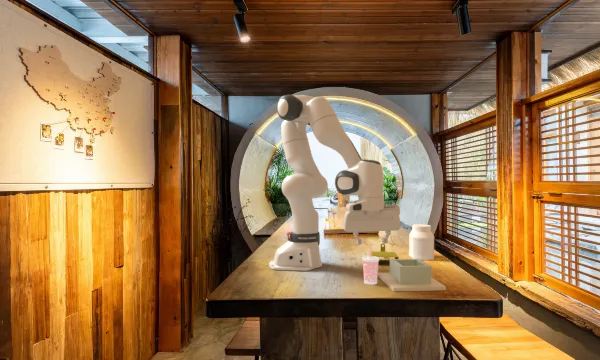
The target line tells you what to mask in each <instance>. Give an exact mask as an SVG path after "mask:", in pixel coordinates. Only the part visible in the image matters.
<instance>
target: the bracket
mask: <svg viewBox="0 0 600 360" xmlns="http://www.w3.org/2000/svg"><path fill="white" fill-rule="evenodd" d="M371 256H376V257H379V258H383V259H385V260H390V259H391V258H394V259H400V257H399V256H398V254H397V253H396V252H394V251H386V243H381V244H380V251H373V250H371Z"/></svg>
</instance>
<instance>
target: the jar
mask: <svg viewBox="0 0 600 360" xmlns="http://www.w3.org/2000/svg"><path fill="white" fill-rule="evenodd" d="M411 228H412V230H411V231H410V232H409V235H408V237H409V238H408V239H409V240H408V250H409V251H408V256H409V257H411V259H420V260H421V261H433V260H434V259H435V235H434V233H433V232H432V225H431V224H423V223H416V224H415V223H413V224H412V227H411Z"/></svg>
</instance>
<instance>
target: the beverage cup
mask: <svg viewBox="0 0 600 360" xmlns="http://www.w3.org/2000/svg"><path fill="white" fill-rule="evenodd" d="M371 251H372V243H369V255H363V256H362V257H361V261H362V266H363V267H362V268H363V269H362V271H363V283H364V284H366V285H372V286H373V285H377V284H378V273H379V262H380V257H376V256H371Z"/></svg>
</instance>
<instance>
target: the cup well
mask: <svg viewBox="0 0 600 360" xmlns="http://www.w3.org/2000/svg"><path fill="white" fill-rule="evenodd" d="M377 278H379V279H380V280H381V281H382V282H383V284H385V285H386V286H387V287H388V288H389V289H390V290H391V291H392V292H424V291H425V292H427V291H428V292H429V291H446V290H447V286H445V285H444V284H443V283H441V282H439V281H438V280H436V279H435V278H434V277H432V266H431V265H430V264H428V263H426V262H425V261H424V260H420V259H413V258H399V259H395V258H392V259H391V258H390V259H389V272H378V275H377Z"/></svg>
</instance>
